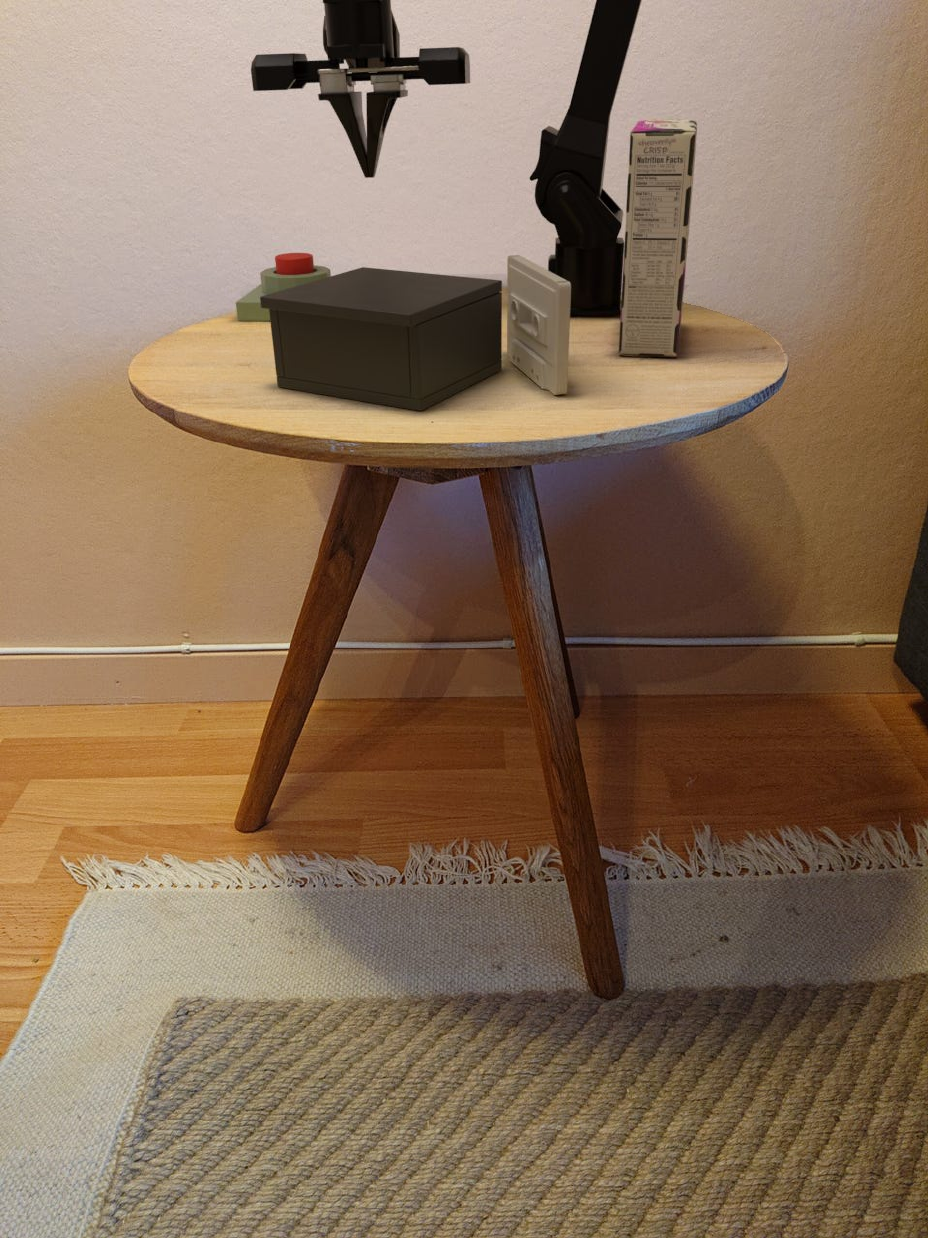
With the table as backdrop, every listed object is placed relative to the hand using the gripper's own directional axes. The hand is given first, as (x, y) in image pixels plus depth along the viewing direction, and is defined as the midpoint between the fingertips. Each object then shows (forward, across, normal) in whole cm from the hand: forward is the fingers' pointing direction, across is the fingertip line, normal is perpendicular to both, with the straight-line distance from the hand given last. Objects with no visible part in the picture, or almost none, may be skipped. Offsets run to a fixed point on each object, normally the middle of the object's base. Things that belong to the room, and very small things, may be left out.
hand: (370, 177), depth 90 cm
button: (+8, +8, +1) cm, 11 cm away
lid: (+6, -5, +26) cm, 27 cm away
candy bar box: (+12, -25, +14) cm, 31 cm away
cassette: (+12, -16, +24) cm, 31 cm away
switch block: (+11, +8, +1) cm, 14 cm away
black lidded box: (+12, -5, +25) cm, 28 cm away
